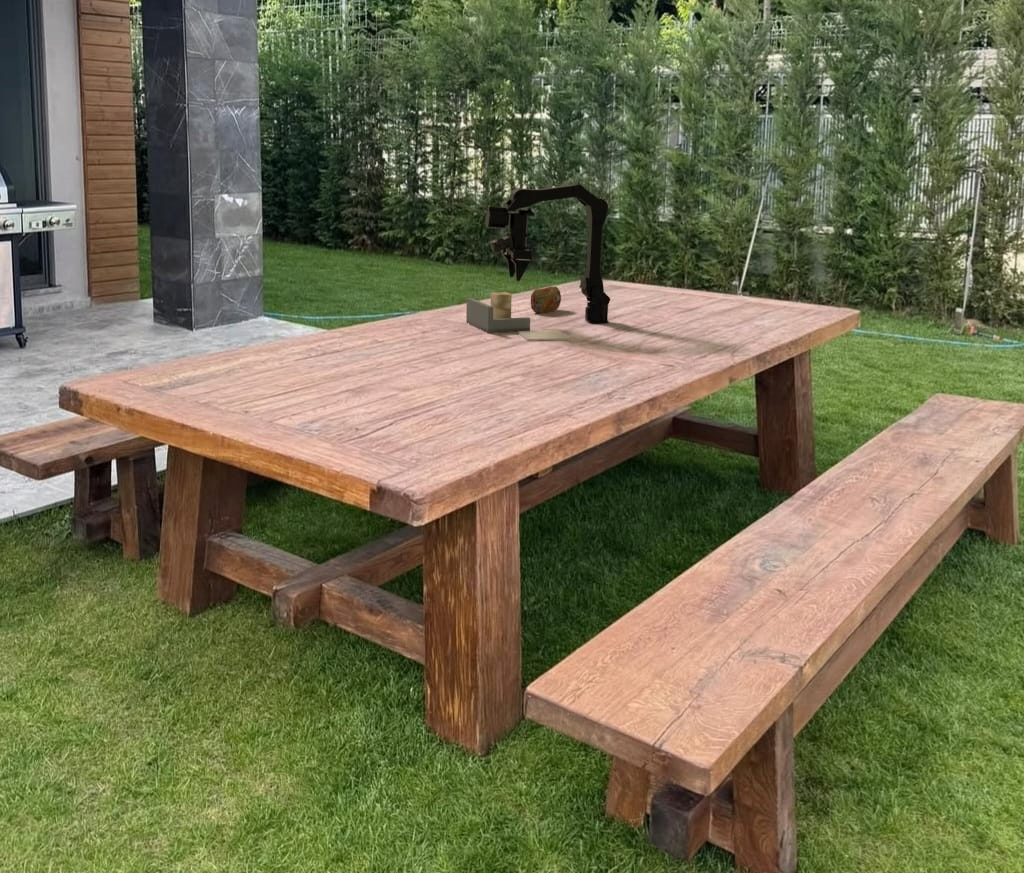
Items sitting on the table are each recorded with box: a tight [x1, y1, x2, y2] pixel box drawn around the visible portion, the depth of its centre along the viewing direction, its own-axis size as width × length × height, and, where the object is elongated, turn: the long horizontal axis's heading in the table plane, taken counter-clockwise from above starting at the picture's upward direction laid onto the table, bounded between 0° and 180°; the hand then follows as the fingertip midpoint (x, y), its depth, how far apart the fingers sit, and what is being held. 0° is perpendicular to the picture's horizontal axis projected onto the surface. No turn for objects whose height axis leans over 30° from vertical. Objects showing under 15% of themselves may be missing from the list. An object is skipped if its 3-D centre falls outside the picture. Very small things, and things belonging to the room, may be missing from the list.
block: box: [490, 291, 512, 319], centre depth 348 cm, size 5×5×8 cm
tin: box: [530, 286, 562, 314], centre depth 380 cm, size 15×3×8 cm, turn 143°
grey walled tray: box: [465, 297, 531, 334], centre depth 349 cm, size 14×19×8 cm
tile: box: [517, 330, 571, 342], centre depth 335 cm, size 13×13×1 cm
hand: (514, 279), depth 353 cm, fingers open, 9 cm apart
